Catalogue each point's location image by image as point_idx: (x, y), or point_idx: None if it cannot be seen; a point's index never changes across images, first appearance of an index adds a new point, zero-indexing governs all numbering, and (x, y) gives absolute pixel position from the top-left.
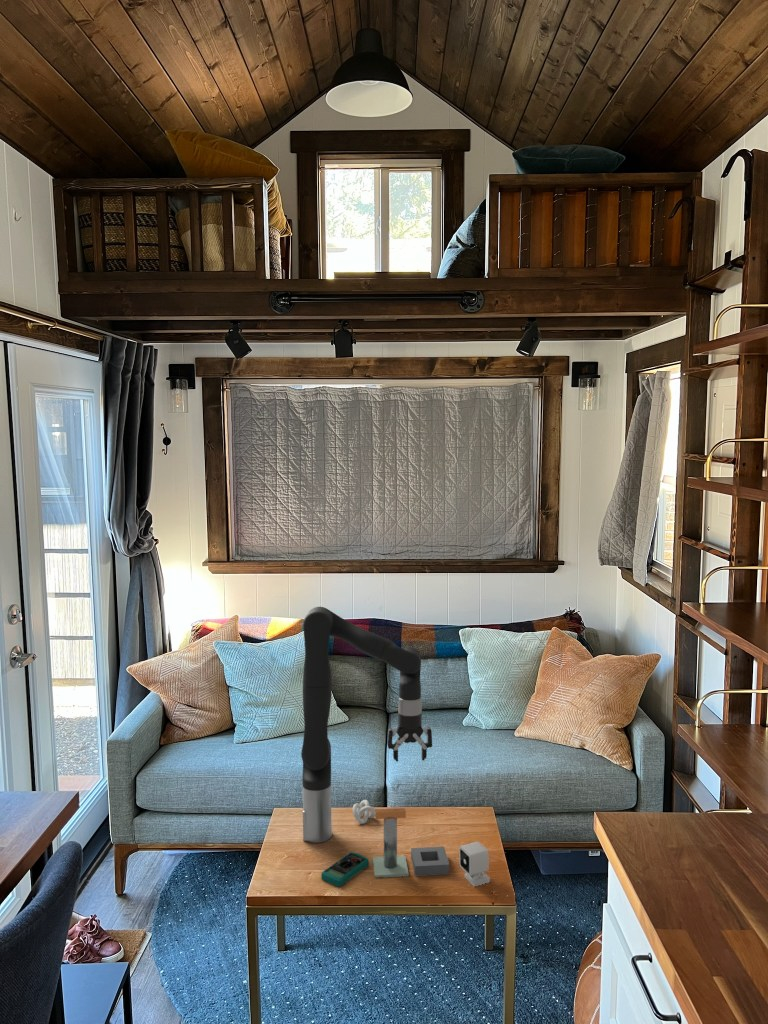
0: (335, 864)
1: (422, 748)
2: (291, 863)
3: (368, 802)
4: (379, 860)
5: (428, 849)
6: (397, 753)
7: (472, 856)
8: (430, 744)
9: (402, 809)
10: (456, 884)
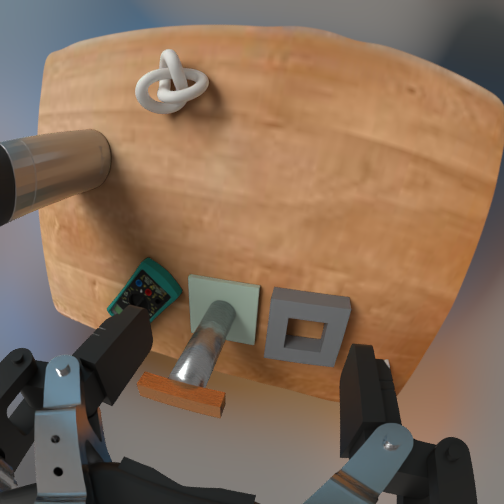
0: (121, 296)
1: (354, 442)
2: (67, 249)
3: (178, 66)
4: (201, 291)
5: (310, 312)
6: (119, 387)
7: None
8: (413, 498)
9: (212, 409)
10: (332, 377)
